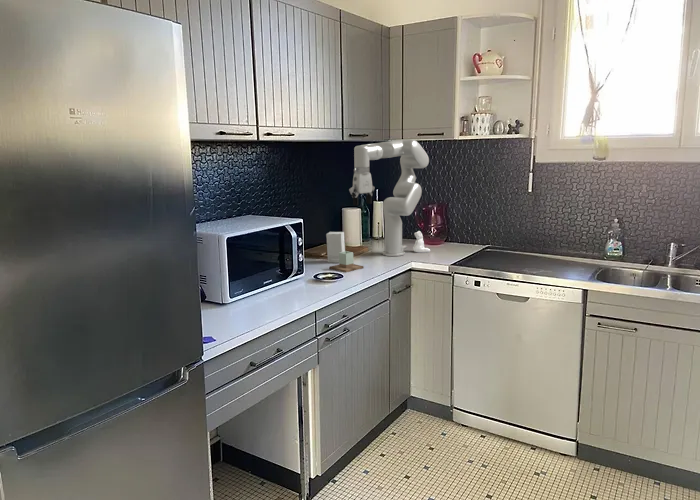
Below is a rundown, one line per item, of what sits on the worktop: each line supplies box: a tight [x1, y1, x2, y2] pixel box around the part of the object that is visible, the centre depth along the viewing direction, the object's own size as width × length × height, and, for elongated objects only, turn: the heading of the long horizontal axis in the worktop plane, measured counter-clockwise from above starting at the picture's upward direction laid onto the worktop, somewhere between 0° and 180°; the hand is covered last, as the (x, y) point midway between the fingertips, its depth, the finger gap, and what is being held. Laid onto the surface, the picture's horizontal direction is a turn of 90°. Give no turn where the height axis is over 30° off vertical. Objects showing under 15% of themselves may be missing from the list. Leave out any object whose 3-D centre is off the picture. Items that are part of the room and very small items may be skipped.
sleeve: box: [338, 250, 355, 268], centre depth 266 cm, size 5×5×7 cm
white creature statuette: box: [412, 230, 431, 254], centre depth 302 cm, size 10×9×12 cm
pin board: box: [328, 263, 365, 273], centre depth 266 cm, size 12×12×6 cm
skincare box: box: [325, 231, 346, 264], centre depth 280 cm, size 8×7×16 cm
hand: (362, 204), depth 273 cm, fingers open, 9 cm apart
